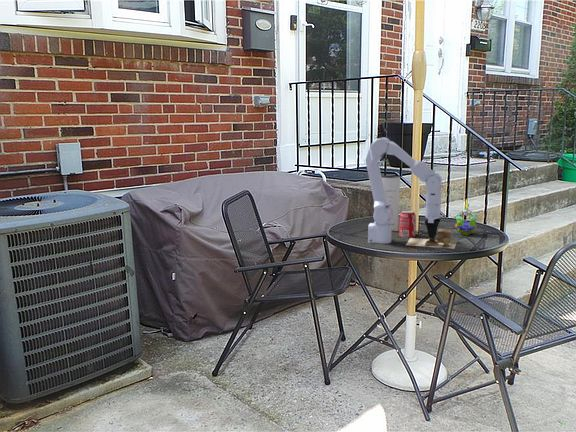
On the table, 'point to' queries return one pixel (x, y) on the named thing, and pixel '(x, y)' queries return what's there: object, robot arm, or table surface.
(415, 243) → the board
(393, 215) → the white tumbler
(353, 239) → the table surface
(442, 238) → the block
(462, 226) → the toy helicopter
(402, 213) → the soda can
